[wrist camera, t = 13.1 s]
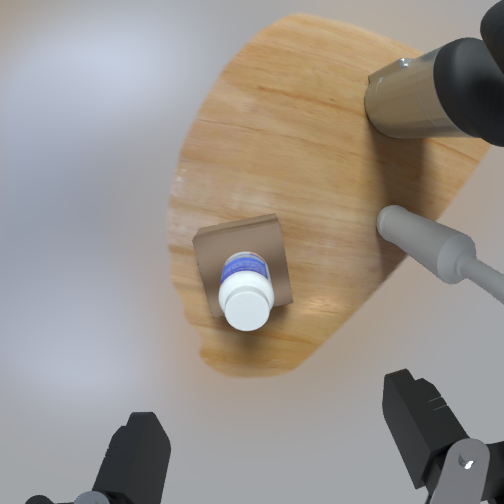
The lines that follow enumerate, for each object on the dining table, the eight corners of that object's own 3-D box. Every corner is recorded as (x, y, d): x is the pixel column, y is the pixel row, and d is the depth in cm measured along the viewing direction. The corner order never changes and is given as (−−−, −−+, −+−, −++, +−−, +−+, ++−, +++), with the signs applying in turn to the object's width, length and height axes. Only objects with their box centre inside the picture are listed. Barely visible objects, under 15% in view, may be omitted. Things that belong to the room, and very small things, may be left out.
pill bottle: (213, 264, 37) (203, 301, 27) (255, 241, 36) (258, 273, 27) (237, 301, 38) (235, 346, 29) (277, 280, 37) (287, 322, 28)
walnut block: (199, 228, 42) (192, 240, 36) (275, 213, 41) (279, 223, 35) (216, 296, 44) (212, 317, 39) (287, 283, 44) (293, 303, 38)
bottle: (411, 225, 42) (534, 296, 18) (385, 246, 43) (496, 336, 19) (396, 196, 41) (526, 249, 17) (368, 217, 41) (485, 292, 18)
